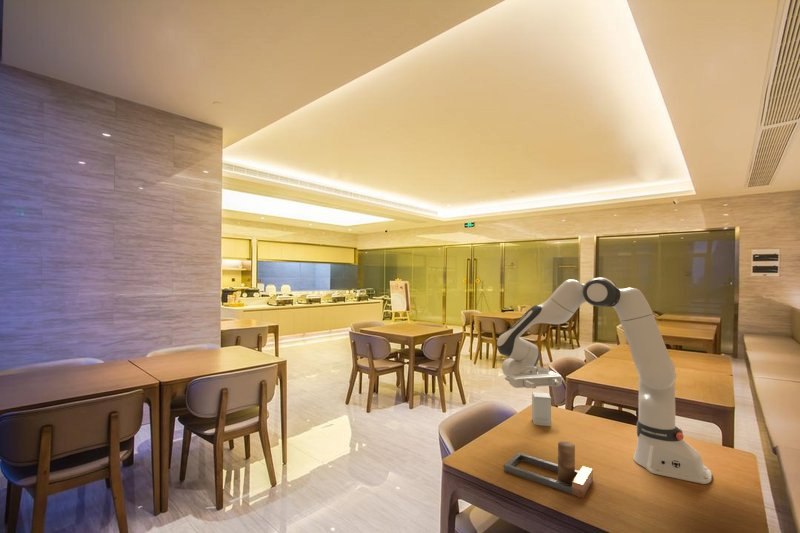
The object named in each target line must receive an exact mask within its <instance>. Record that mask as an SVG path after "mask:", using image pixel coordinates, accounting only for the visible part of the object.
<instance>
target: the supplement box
mask: <svg viewBox="0 0 800 533" xmlns="http://www.w3.org/2000/svg"><path fill="white" fill-rule="evenodd" d="M531 394H532V395H531V401H532V402H531V420H532V422H533V425H535V426H544V427H545V426H546V427H551V426H552V397H551V396H550V394H549V392H531Z"/></svg>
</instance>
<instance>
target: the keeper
mask: <svg viewBox="0 0 800 533" xmlns="http://www.w3.org/2000/svg"><path fill="white" fill-rule="evenodd" d="M557 452H558V453H557V464H558V472H557V481H560V482H563V483H566V484H569V485H572V481H573V480H574V478H575V470H576V469H575V468H576V466H575V465H576V460H575V459H576V446H575V444H573V443H571V442H570V441H569V442H568V441H558V443H557Z"/></svg>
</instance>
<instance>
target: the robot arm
mask: <svg viewBox="0 0 800 533" xmlns="http://www.w3.org/2000/svg"><path fill="white" fill-rule="evenodd" d="M585 303H588V304H590V305H591V306H594V307H599V308H600V307H601V308H603V307H604V308H605V307H606V308H608V307H609V308H613V309H614V310H615V312H616V314H617V316H618V317H617V318H618V320H619V323H620V325H621V327H622V330H623V334H624V336H625V339H626V342H627V345H628V346H629V347H628V348H629V351H630V354H631V357H632V360H633V362H634V366H635V368H636V373H637V375H638V419H637V421H636V435H637V442H636V447H635V452H634V455H633V458H632V459H633V460H634V462H635V463H636V464H638V465H639V466H641V467H643V468H644V469H646V470H647V471H648V472H649V473H651V474H655V475H659V476H663V477H668V478H673V479H677V480H681V481H687V482H692V483H696V484H702V485H706V484H709V483H711V482H712V480H713V477H712V476H713V474H712V472H711V470H710V469H709V467H707V466H706V465H705V464H704V463H703V459H702V455H701V454H700V453H699V451H698V450H696V449H695V448H694V447H693V446H691V445H690V444H689V443H688V442H687V441H686V440H685V439H684V433H683V430H682V428H681V427H680V428H679V427H677V426H676V388H675V387H676V385H675V384H676V383H675V381H676V377H677V376H676V375H677V374H676V368H675V364H674V361H673V360H672V359H671V356H670V355H669V351H668V349H667V345H666V344H665V341H664V339H663V336H662V333H661V330H660V327H659V324H658V323H657V320H656V317H655V315H654V313H653V310H652V308H651V306H650V304H649V302H648V300H647V298H646V297H645V294H643V292H642V291H641V290H640V289H639V288H635V287H626V288H619V287H618V286H617V285H616V283H615V282H614V281H612V280H611V279H608V278H606V277H601V276H600V277H594V278H592V279H589V280H588V281H586V283H583V282H580V281H579V280H577V279H571V278H570V279H566V280H565V281H563V282H562V283H561V284H560V285H559V286H558V287H557V288H556V289H555V290H554V291H553V293H552V294H551V295H550V297H549V298H547V300H544V302H542V303H540V304H535V305H533V306H531V308H529V309H528V310H527V311H526V312H525V313H524V314H523V315H522V316H520V317H519V319H517V320H516V322H515V323H514V324H512V325H511V326H510V327H509V328H508V329H507V330H505V331H504V332H502V333H501V334H500V335H499V336H498V337H497V340H496V349H497V351H498V353H499V354H501V355H502V356H505V357H508V358H506V359H504V360H503V362H502V364H501V371H502V373H503V374H504V376H505V377H504V379H505V381H508V384H509V385H510V386H511V387H513V388H516V389H521V388H522V389H523V388H526V389H537V387H552V386H553V387H555V388H558V387H560V386H561V385H562V384H563V383H562V382H563V378H562V375H561V374H560V373H557V372H555V371H553V370H549V369H548V368H547V367H545V366H537V365H538V363H539V360H540V356H541V355H540V354H541V353H540V350H539V347H538V345H537V344H535V343H532V342H531V341H528V340H526V339H524V338H523V337H522V335H524V333H526V331H527V330H528V329H530V328H531V327H532V326H533V325H536V324H550V325H562V324H566V323H567V322H568V321H569V320H570V319H571V318H572V317H573V316H574V315H575V313H576V312H577V310H578V309H579V308H580V307H581V306H582V305H583V304H585Z"/></svg>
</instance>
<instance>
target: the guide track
mask: <svg viewBox="0 0 800 533" xmlns="http://www.w3.org/2000/svg"><path fill="white" fill-rule="evenodd" d="M520 462H525V463H527V464H530V465H533V466H536V467H541V468H544V469H546V470H549V471H553V472H556V473H558V463H554V462H552V461H548V460H545V459H542V458H538V457H535V456H533V455H532V456H531V455H529V454H526V453H522V452H516V454H515V455H513V456H512V457H511V458H510V459H509V460H508V461H506V463H505V464H504V465H503V471H504V472H505V473H508V474H511V475H514V476H517V477H520V478H523V479H526V480H528V481H531V482H534V483H538V484H539V485H544V486H546V487H549V488H551V489H555V490H558V491H561V492H564V493H566V494H570V495H572V496H575V497H578V498H581V499H584V496H585V495H586V494H587V492H588V490H589V488H590V487H591V485H592V483H593V481H594V480H593V471H594V470H593V468H590V467H588V466H585V465H582V466H581V467H580V468H579V470H577V469H575V478H574V480H573V481H572V485H569V484H566V483H563V482H560V481H558V479H553V478H551V477H547V476H545V475H541V474H538V473H536V472H533V471H530V470H526V469H524V468H521V467H517V465H518V464H519V463H520Z"/></svg>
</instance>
